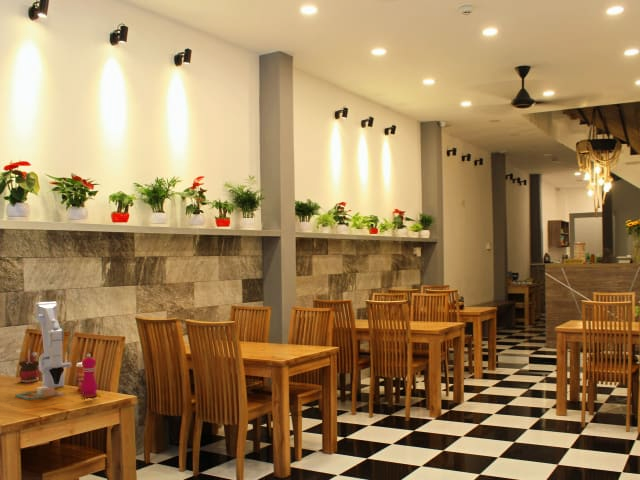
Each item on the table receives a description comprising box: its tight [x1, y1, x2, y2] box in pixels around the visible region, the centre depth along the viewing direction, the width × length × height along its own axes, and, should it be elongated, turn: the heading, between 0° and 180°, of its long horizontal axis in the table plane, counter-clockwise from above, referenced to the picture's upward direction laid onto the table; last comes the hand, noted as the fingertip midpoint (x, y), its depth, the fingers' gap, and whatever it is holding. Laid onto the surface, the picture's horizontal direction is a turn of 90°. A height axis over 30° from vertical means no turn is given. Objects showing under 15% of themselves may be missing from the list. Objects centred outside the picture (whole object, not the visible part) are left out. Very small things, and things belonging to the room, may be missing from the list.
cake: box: [18, 346, 40, 383], centre depth 369 cm, size 11×9×18 cm
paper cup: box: [76, 361, 84, 391], centre depth 334 cm, size 8×8×14 cm
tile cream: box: [36, 385, 49, 395], centre depth 323 cm, size 4×4×3 cm
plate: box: [31, 391, 64, 398], centre depth 322 cm, size 10×14×2 cm
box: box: [15, 391, 46, 401], centre depth 316 cm, size 7×14×2 cm, turn 47°
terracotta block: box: [43, 388, 56, 397], centre depth 319 cm, size 4×4×3 cm
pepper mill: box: [80, 353, 99, 400], centre depth 319 cm, size 7×7×20 cm
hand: (56, 383), depth 328 cm, fingers closed
